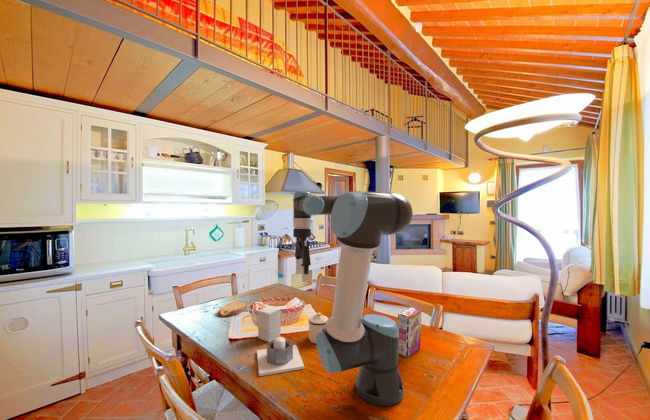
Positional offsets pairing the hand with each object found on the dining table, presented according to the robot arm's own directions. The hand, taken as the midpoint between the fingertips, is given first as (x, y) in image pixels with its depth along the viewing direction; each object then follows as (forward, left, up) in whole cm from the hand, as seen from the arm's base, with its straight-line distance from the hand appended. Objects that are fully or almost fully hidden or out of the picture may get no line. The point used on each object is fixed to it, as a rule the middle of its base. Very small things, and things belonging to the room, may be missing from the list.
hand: (302, 277), depth 118 cm
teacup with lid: (+3, -9, -29) cm, 30 cm away
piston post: (-10, +11, -29) cm, 32 cm away
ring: (-10, +11, -28) cm, 31 cm away
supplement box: (+10, +13, -29) cm, 33 cm away
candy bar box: (-18, -41, -29) cm, 53 cm away
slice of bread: (+49, +30, -29) cm, 64 cm away
